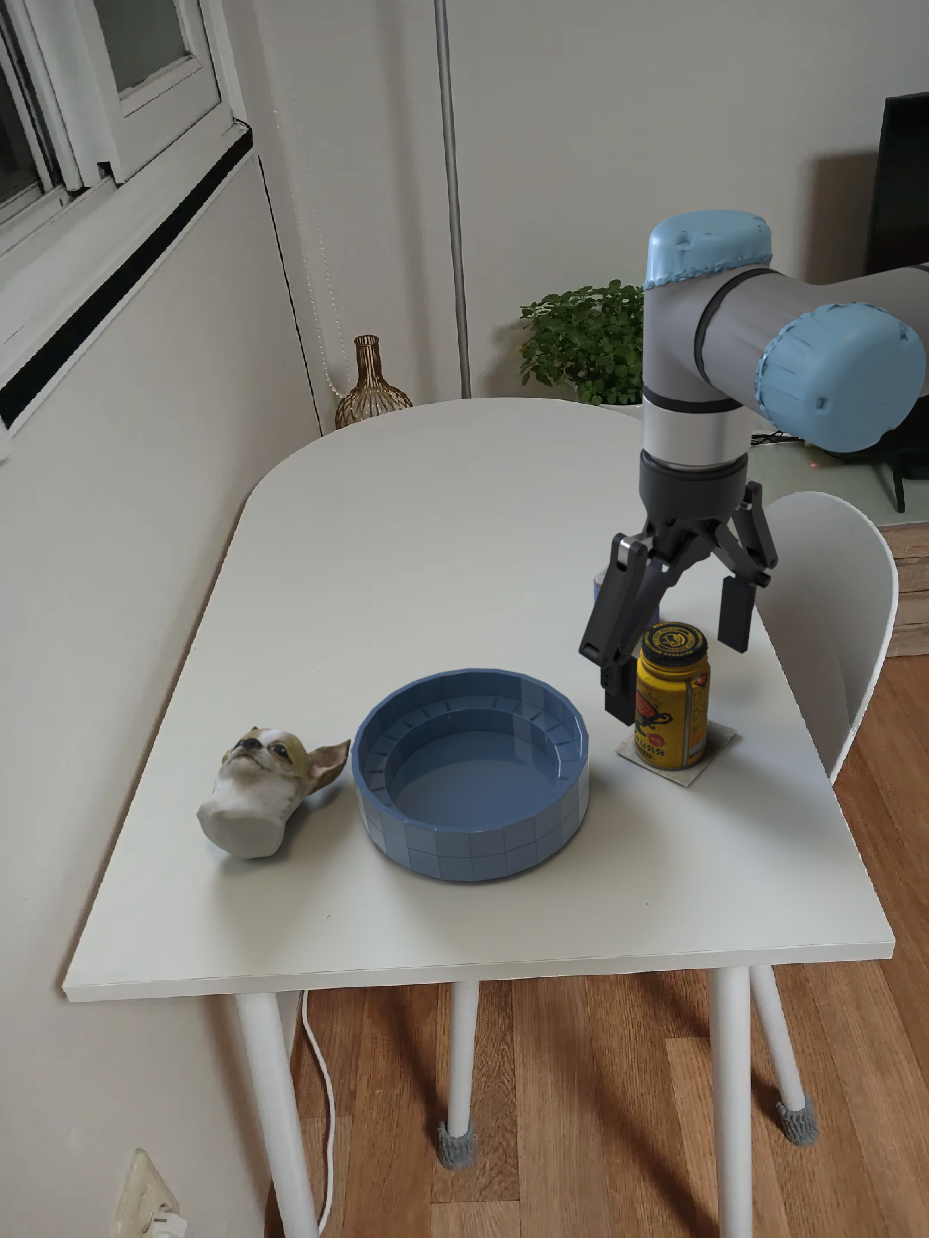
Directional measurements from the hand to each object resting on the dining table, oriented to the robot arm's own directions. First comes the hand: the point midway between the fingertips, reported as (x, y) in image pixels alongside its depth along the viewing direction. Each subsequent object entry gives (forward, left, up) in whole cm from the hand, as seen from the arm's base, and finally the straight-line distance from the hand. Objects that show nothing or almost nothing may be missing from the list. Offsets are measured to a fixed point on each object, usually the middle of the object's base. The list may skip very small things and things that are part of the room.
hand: (678, 679), depth 80 cm
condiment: (0, 0, -7) cm, 7 cm away
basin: (+7, +17, -7) cm, 20 cm away
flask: (+14, -8, -7) cm, 17 cm away
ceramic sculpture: (+17, +31, -7) cm, 36 cm away
